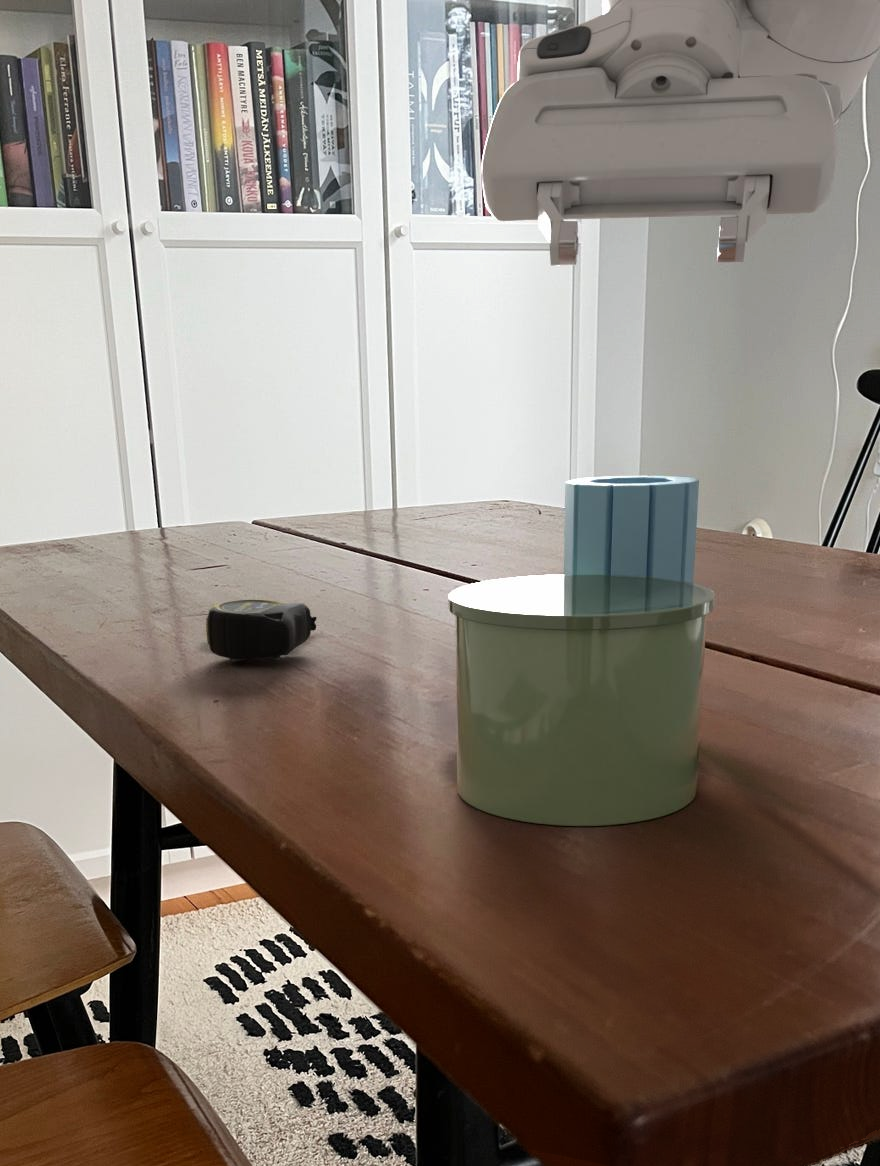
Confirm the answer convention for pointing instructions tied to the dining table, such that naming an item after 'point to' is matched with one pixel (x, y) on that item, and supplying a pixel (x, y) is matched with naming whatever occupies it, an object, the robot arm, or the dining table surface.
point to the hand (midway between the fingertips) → (645, 255)
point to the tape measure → (257, 628)
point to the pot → (579, 696)
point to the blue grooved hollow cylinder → (631, 526)
